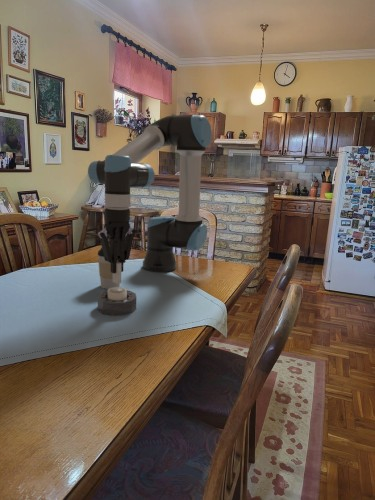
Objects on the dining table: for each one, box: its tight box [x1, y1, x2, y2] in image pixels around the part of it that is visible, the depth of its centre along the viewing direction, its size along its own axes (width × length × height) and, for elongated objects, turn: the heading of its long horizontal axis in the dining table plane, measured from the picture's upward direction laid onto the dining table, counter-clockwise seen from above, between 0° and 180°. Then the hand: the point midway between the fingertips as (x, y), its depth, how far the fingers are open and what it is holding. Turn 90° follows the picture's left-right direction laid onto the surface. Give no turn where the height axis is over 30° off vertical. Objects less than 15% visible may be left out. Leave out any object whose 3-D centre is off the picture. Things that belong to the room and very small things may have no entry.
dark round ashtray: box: [97, 289, 137, 316], centre depth 114 cm, size 12×12×4 cm
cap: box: [107, 286, 128, 300], centre depth 114 cm, size 6×6×6 cm
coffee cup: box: [97, 245, 121, 290], centre depth 133 cm, size 9×9×15 cm
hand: (116, 282), depth 113 cm, fingers closed
